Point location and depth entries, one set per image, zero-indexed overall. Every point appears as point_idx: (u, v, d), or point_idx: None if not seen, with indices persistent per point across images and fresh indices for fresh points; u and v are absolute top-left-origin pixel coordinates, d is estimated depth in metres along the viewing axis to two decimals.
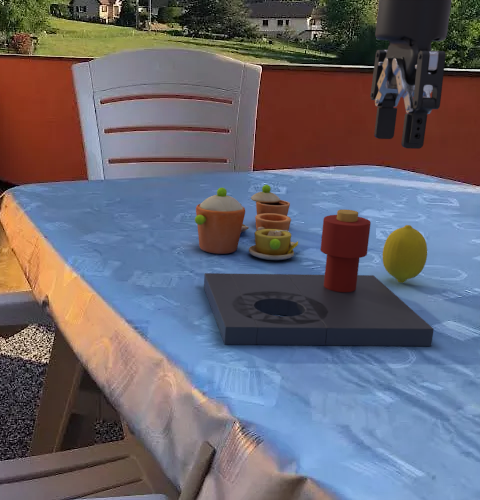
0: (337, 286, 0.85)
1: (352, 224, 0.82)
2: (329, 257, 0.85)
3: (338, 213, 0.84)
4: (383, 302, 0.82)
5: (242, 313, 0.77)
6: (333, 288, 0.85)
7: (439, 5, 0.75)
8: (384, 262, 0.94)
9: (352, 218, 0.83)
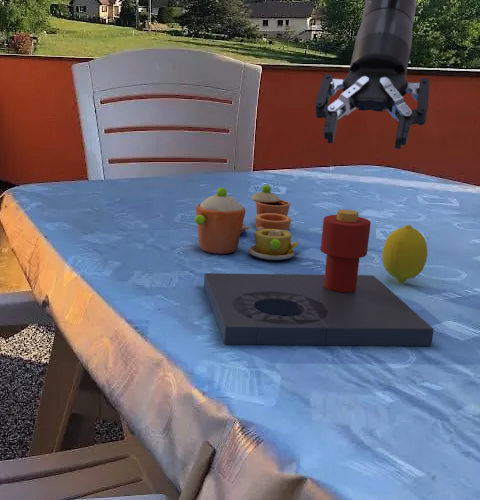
0: (337, 286, 0.85)
1: (352, 224, 0.82)
2: (329, 257, 0.85)
3: (338, 213, 0.84)
4: (383, 302, 0.82)
5: (242, 313, 0.77)
6: (333, 288, 0.85)
7: (354, 48, 0.99)
8: (384, 262, 0.94)
9: (352, 218, 0.83)
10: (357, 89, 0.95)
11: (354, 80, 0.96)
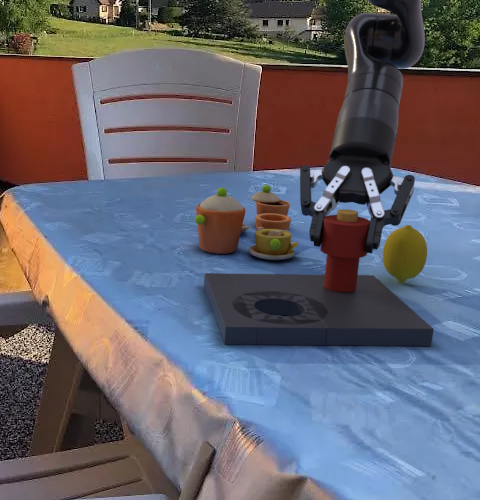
0: (337, 286, 0.85)
1: (352, 224, 0.82)
2: (329, 257, 0.85)
3: (338, 213, 0.84)
4: (383, 302, 0.82)
5: (242, 313, 0.77)
6: (333, 288, 0.85)
7: (335, 132, 0.90)
8: (384, 262, 0.94)
9: (352, 218, 0.83)
10: (337, 180, 0.86)
11: (334, 168, 0.88)
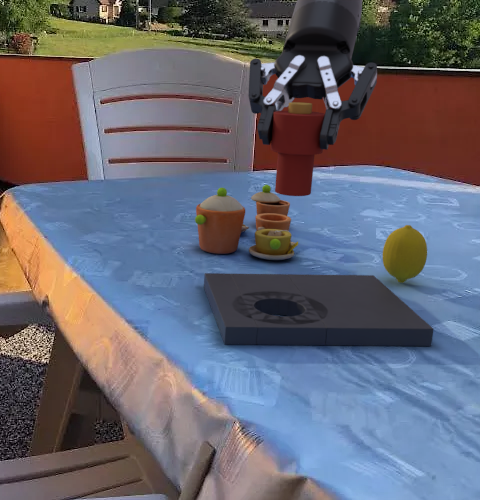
0: (288, 189, 0.75)
1: (304, 115, 0.72)
2: (280, 157, 0.75)
3: (289, 105, 0.74)
4: (383, 302, 0.82)
5: (242, 313, 0.77)
6: (284, 192, 0.75)
7: (290, 23, 0.80)
8: (384, 262, 0.94)
9: (305, 109, 0.73)
10: (290, 71, 0.76)
11: (288, 60, 0.78)
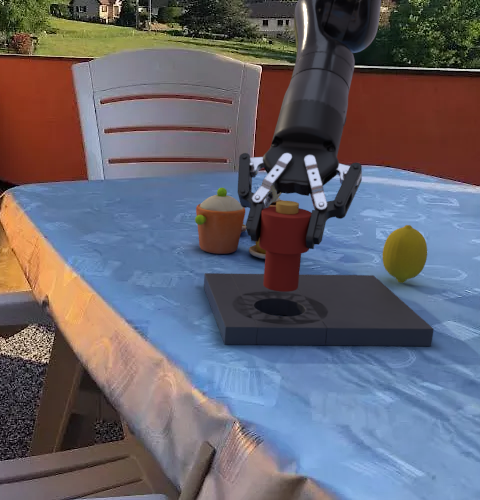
0: (276, 285, 0.77)
1: (291, 216, 0.74)
2: (267, 253, 0.77)
3: (277, 204, 0.76)
4: (383, 302, 0.82)
5: (242, 313, 0.77)
6: (272, 287, 0.77)
7: (278, 117, 0.83)
8: (384, 262, 0.94)
9: (292, 210, 0.75)
10: (277, 169, 0.78)
11: (276, 156, 0.80)
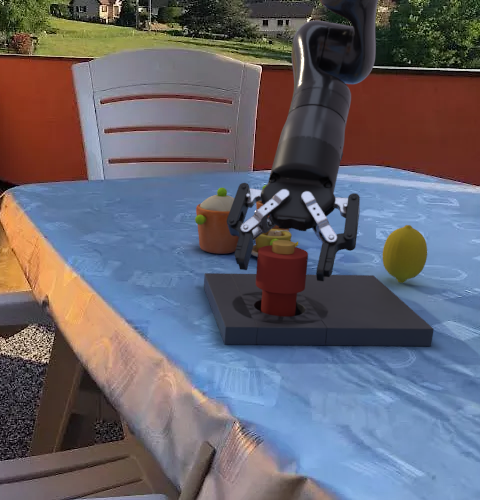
0: None
1: (287, 257, 0.76)
2: (264, 292, 0.78)
3: (273, 244, 0.77)
4: (383, 302, 0.82)
5: (242, 313, 0.77)
6: None
7: (276, 152, 0.84)
8: (384, 262, 0.94)
9: (287, 250, 0.77)
10: (275, 205, 0.80)
11: (273, 192, 0.81)
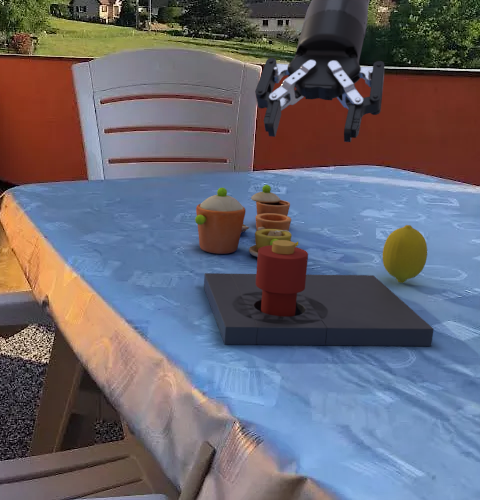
0: None
1: (287, 257, 0.76)
2: (264, 292, 0.78)
3: (273, 244, 0.77)
4: (383, 302, 0.82)
5: (242, 313, 0.77)
6: None
7: (302, 29, 0.87)
8: (384, 262, 0.94)
9: (287, 250, 0.77)
10: (302, 74, 0.83)
11: (300, 65, 0.84)
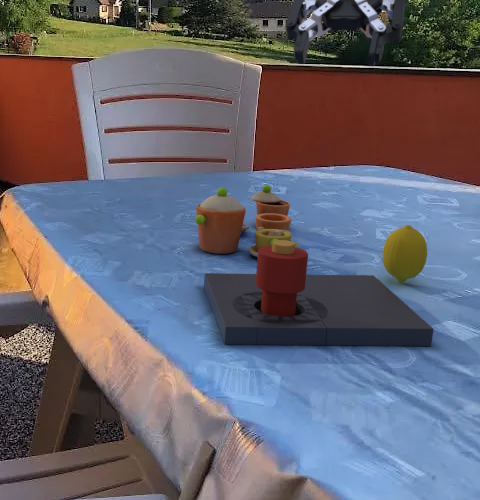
0: None
1: (287, 257, 0.76)
2: (264, 292, 0.78)
3: (273, 244, 0.77)
4: (383, 302, 0.82)
5: (242, 313, 0.77)
6: None
7: None
8: (384, 262, 0.94)
9: (287, 250, 0.77)
10: (329, 7, 0.90)
11: None
